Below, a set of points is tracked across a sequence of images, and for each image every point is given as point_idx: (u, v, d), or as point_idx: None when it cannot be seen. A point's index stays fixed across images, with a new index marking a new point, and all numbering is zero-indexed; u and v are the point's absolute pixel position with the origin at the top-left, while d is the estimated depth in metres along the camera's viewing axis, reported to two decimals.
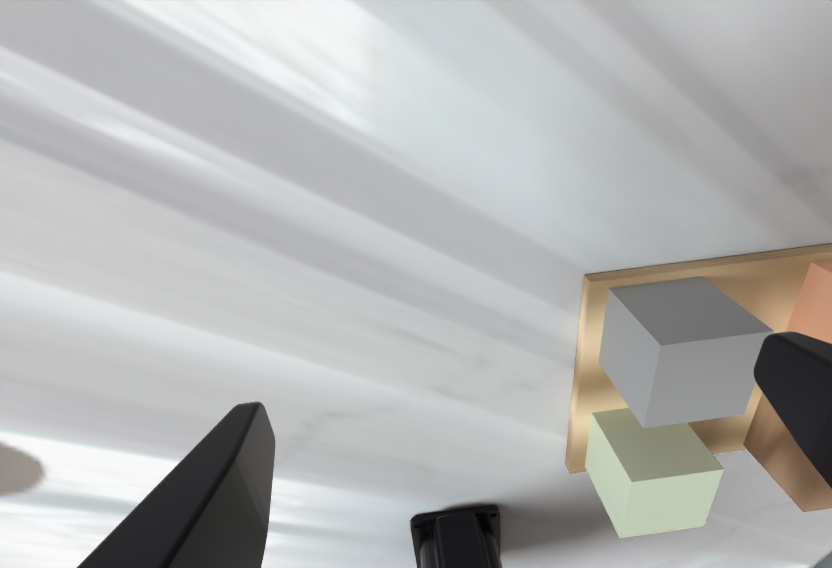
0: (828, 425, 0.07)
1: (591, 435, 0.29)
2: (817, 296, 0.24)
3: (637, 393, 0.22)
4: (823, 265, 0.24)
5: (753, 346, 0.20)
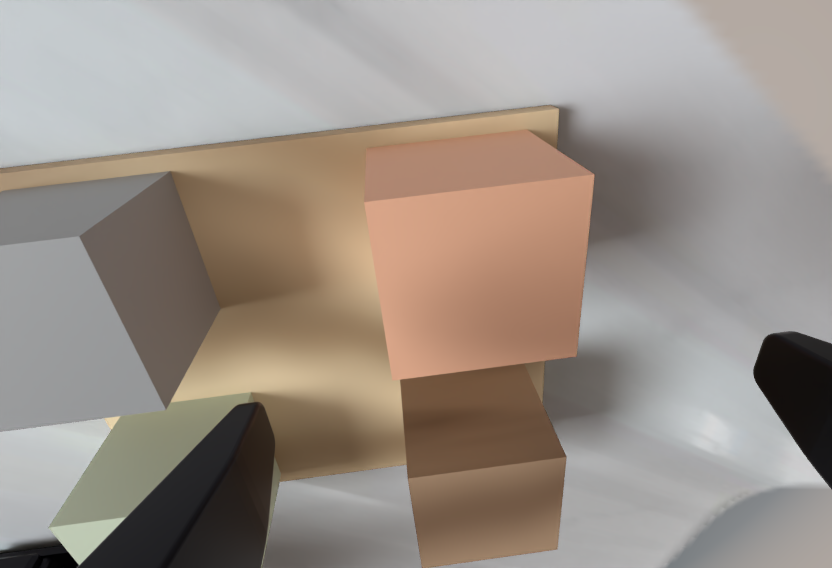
0: (828, 425, 0.07)
1: None
2: None
3: None
4: (375, 150, 0.14)
5: (60, 271, 0.10)
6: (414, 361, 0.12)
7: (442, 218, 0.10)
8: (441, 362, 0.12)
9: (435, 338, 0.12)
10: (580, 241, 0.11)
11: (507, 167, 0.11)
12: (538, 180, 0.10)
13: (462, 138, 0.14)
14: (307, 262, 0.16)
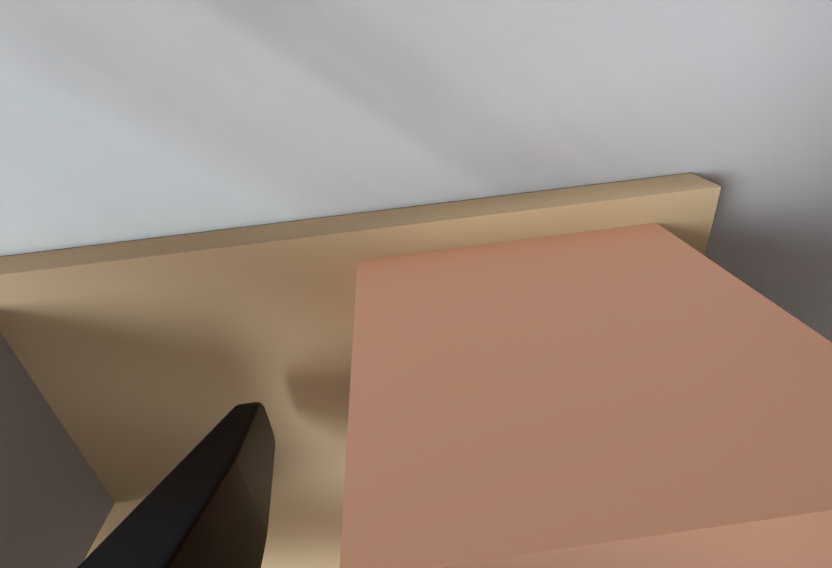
0: None
1: None
2: None
3: None
4: (375, 270, 0.07)
5: None
6: None
7: None
8: None
9: None
10: None
11: (706, 385, 0.04)
12: None
13: (539, 242, 0.07)
14: None
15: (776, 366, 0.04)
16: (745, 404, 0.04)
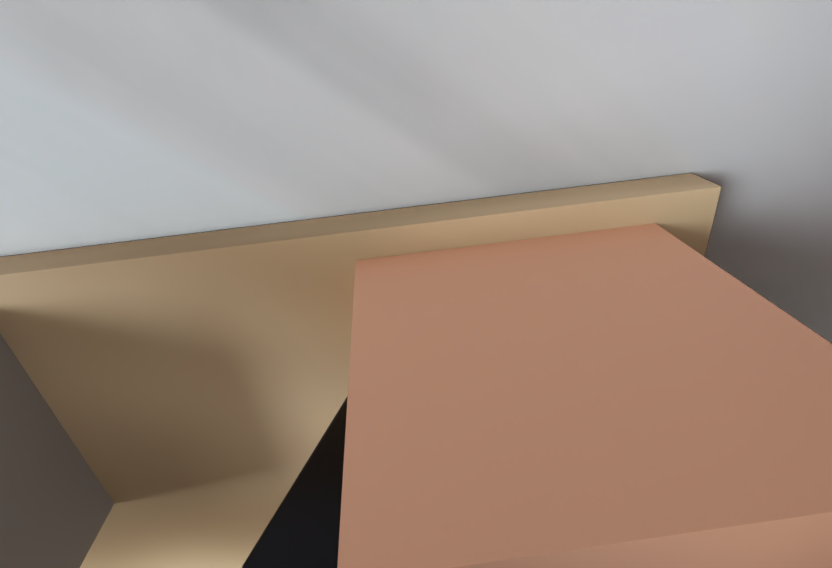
0: None
1: None
2: None
3: None
4: (373, 271, 0.07)
5: None
6: None
7: None
8: None
9: None
10: None
11: (706, 387, 0.04)
12: None
13: (537, 243, 0.07)
14: (258, 437, 0.09)
15: (775, 367, 0.04)
16: (744, 405, 0.04)
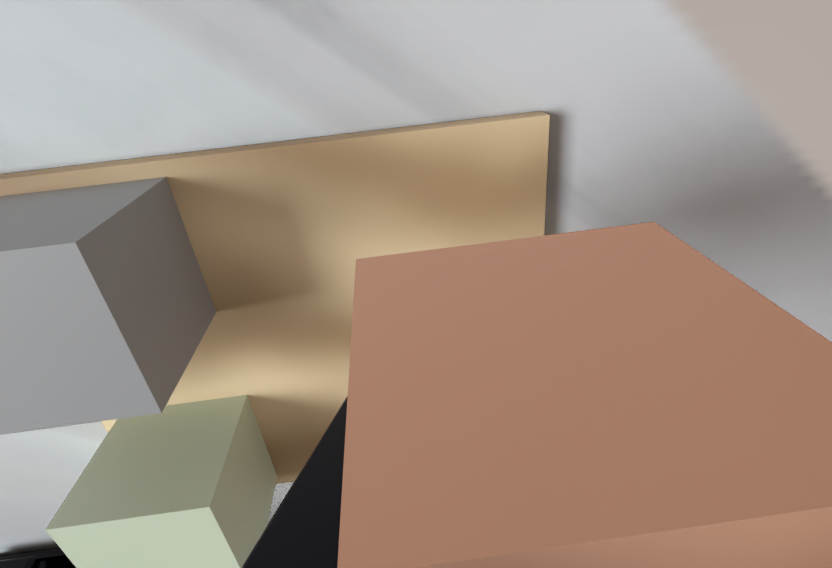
0: None
1: None
2: None
3: None
4: (373, 269, 0.07)
5: (57, 276, 0.10)
6: None
7: None
8: None
9: None
10: None
11: (704, 384, 0.04)
12: None
13: (537, 241, 0.07)
14: (303, 266, 0.16)
15: (773, 364, 0.05)
16: (742, 402, 0.04)
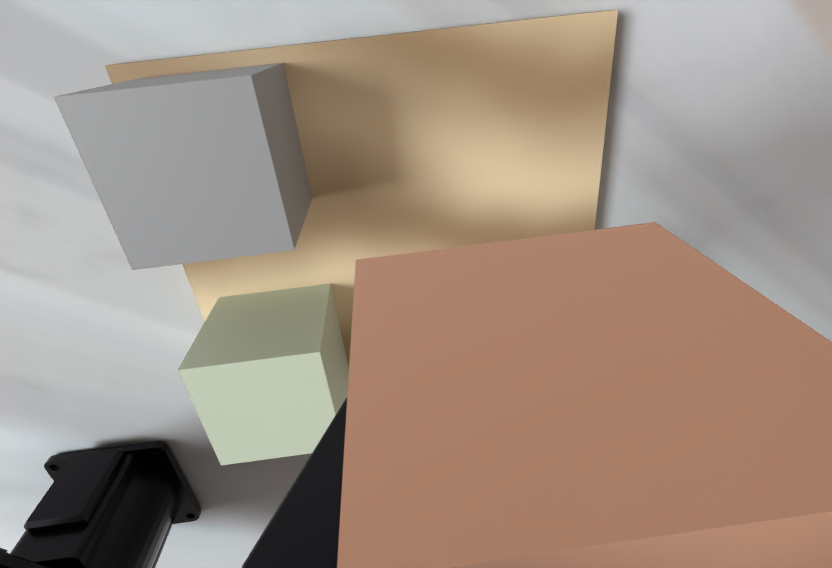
0: None
1: None
2: None
3: None
4: (373, 270, 0.07)
5: (231, 108, 0.12)
6: None
7: None
8: None
9: None
10: None
11: (706, 385, 0.04)
12: None
13: (537, 242, 0.07)
14: (392, 154, 0.18)
15: (776, 366, 0.04)
16: (745, 404, 0.04)
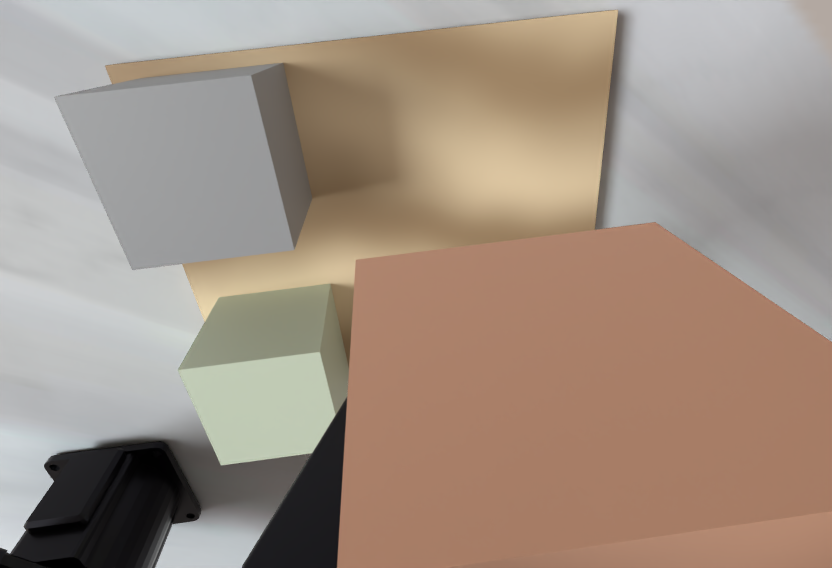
0: None
1: None
2: None
3: None
4: (373, 270, 0.07)
5: (231, 108, 0.12)
6: None
7: None
8: None
9: None
10: None
11: (705, 386, 0.04)
12: None
13: (537, 242, 0.07)
14: (392, 154, 0.18)
15: (776, 366, 0.04)
16: (745, 404, 0.04)
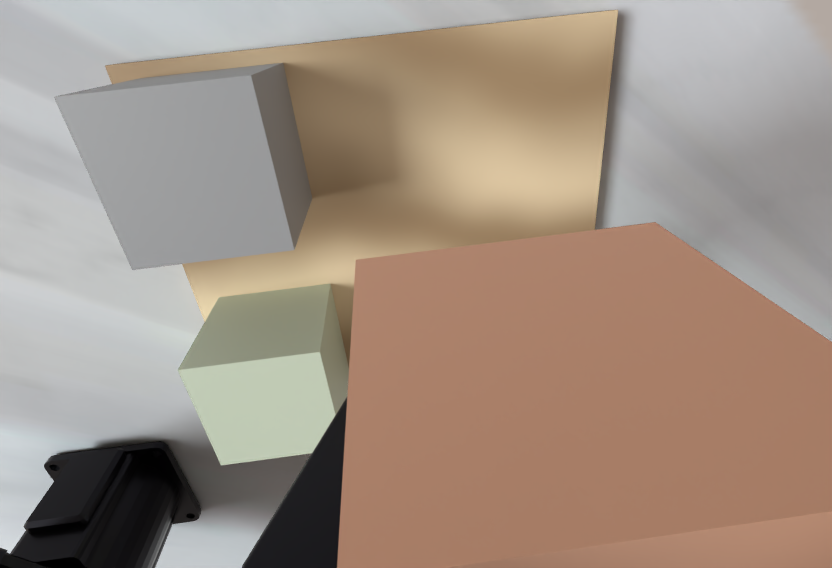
0: None
1: None
2: None
3: None
4: (373, 270, 0.07)
5: (231, 108, 0.12)
6: None
7: None
8: None
9: None
10: None
11: (705, 386, 0.04)
12: None
13: (537, 242, 0.07)
14: (392, 154, 0.18)
15: (776, 366, 0.04)
16: (745, 404, 0.04)
